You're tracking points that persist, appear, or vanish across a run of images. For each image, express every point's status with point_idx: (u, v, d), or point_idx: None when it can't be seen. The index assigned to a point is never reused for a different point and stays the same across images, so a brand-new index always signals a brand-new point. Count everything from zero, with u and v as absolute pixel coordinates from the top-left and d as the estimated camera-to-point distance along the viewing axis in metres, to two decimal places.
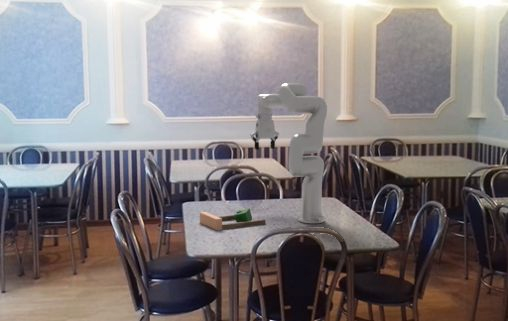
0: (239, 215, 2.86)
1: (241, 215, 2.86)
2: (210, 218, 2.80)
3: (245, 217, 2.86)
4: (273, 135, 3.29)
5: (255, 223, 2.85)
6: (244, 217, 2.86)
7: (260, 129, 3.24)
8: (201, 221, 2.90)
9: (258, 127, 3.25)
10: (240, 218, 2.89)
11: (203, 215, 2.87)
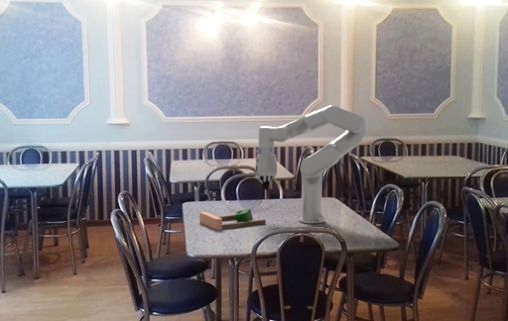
0: (240, 215, 2.86)
1: (242, 215, 2.86)
2: (210, 218, 2.80)
3: (246, 217, 2.86)
4: (275, 172, 2.95)
5: (255, 223, 2.85)
6: (245, 217, 2.86)
7: (261, 165, 2.91)
8: (201, 221, 2.90)
9: (258, 163, 2.92)
10: (241, 218, 2.89)
11: (203, 215, 2.87)
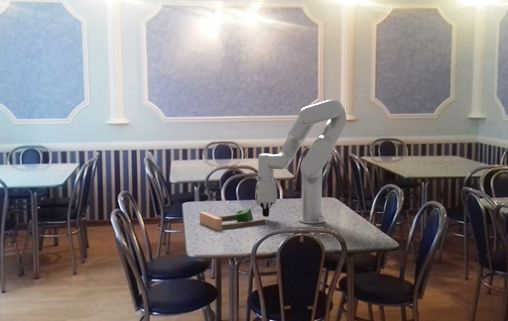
0: (240, 215, 2.86)
1: (242, 215, 2.86)
2: (210, 218, 2.80)
3: (246, 217, 2.86)
4: (275, 199, 2.97)
5: (255, 223, 2.85)
6: (245, 217, 2.86)
7: (261, 193, 2.93)
8: (201, 221, 2.90)
9: (258, 190, 2.93)
10: (241, 218, 2.89)
11: (203, 215, 2.87)
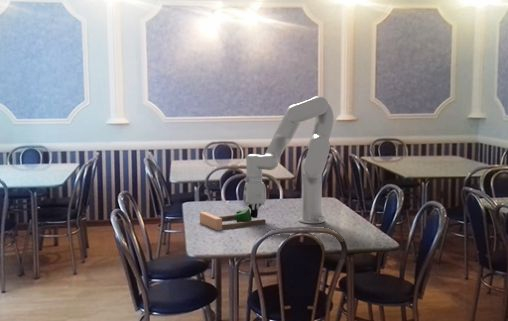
0: (240, 215, 2.86)
1: (242, 215, 2.86)
2: (210, 218, 2.80)
3: (246, 217, 2.86)
4: (263, 200, 2.93)
5: (255, 223, 2.85)
6: (245, 217, 2.86)
7: (249, 194, 2.89)
8: (201, 221, 2.90)
9: (246, 191, 2.90)
10: (240, 218, 2.89)
11: (203, 215, 2.87)
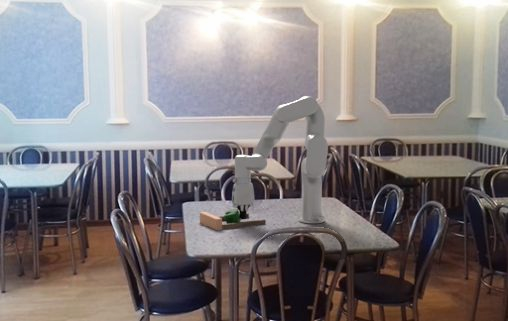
0: (230, 216, 2.84)
1: (232, 216, 2.84)
2: (210, 218, 2.80)
3: (236, 218, 2.84)
4: (252, 201, 2.91)
5: (255, 223, 2.85)
6: (235, 218, 2.84)
7: (237, 195, 2.86)
8: (201, 221, 2.90)
9: (235, 193, 2.87)
10: (230, 219, 2.87)
11: (203, 215, 2.87)
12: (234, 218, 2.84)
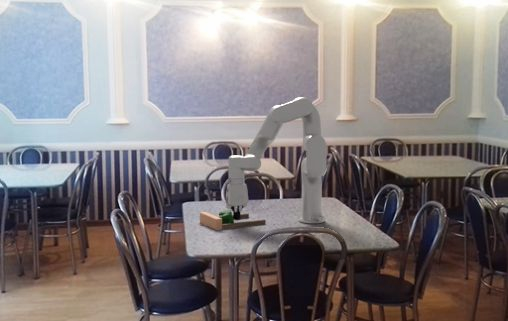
0: (225, 217, 2.82)
1: (227, 216, 2.82)
2: (210, 218, 2.80)
3: (231, 218, 2.83)
4: (246, 202, 2.89)
5: (255, 223, 2.85)
6: (230, 218, 2.83)
7: (231, 196, 2.85)
8: (201, 221, 2.90)
9: (229, 193, 2.85)
10: (225, 220, 2.85)
11: (203, 215, 2.87)
12: (230, 219, 2.83)
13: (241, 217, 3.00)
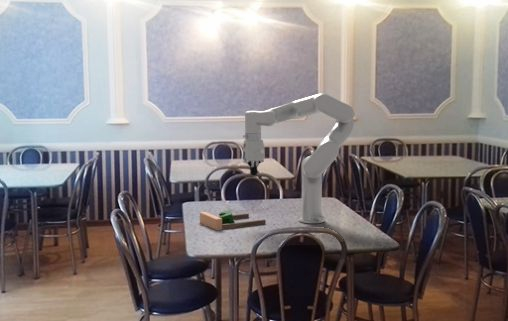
0: (226, 217, 2.82)
1: (228, 217, 2.82)
2: (210, 218, 2.80)
3: (232, 218, 2.83)
4: (263, 157, 2.91)
5: (255, 223, 2.85)
6: (231, 219, 2.83)
7: (248, 150, 2.87)
8: (201, 221, 2.90)
9: (246, 148, 2.88)
10: (225, 220, 2.85)
11: (203, 215, 2.87)
12: (230, 219, 2.83)
13: (241, 217, 3.00)
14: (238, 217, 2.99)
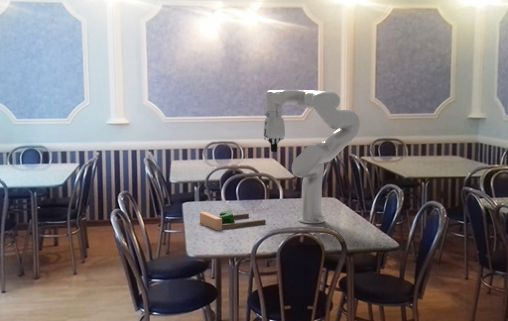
0: (226, 217, 2.82)
1: (228, 217, 2.82)
2: (210, 218, 2.80)
3: (232, 218, 2.83)
4: (283, 134, 3.05)
5: (255, 223, 2.85)
6: (231, 219, 2.83)
7: (269, 128, 3.00)
8: (201, 221, 2.90)
9: (267, 126, 3.01)
10: (226, 220, 2.85)
11: (203, 215, 2.87)
12: (230, 219, 2.83)
13: (241, 217, 3.00)
14: (238, 217, 2.99)
